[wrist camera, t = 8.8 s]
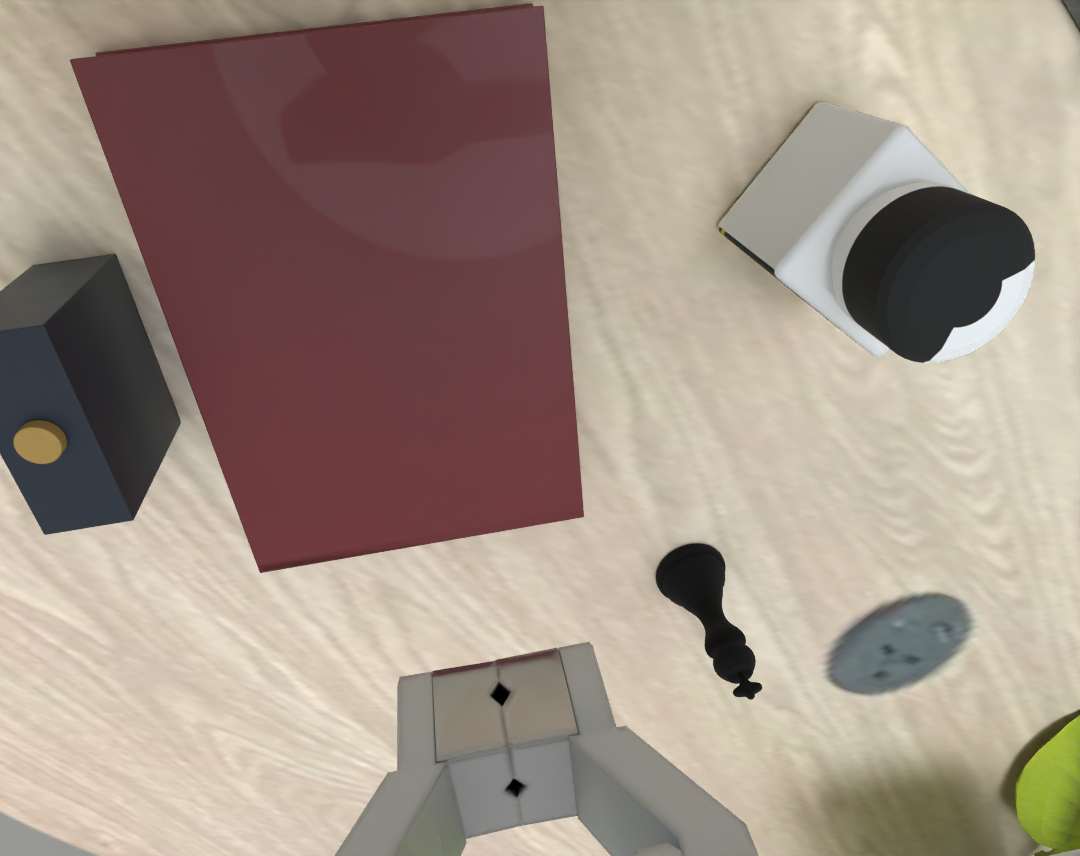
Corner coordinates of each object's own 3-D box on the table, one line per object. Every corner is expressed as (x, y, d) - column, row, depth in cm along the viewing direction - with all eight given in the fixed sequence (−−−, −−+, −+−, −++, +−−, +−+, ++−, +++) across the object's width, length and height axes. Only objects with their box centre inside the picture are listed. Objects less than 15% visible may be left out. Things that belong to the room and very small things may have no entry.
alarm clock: (73, 250, 35) (-133, 326, 28) (189, 260, 32) (-13, 349, 25) (141, 414, 39) (-23, 512, 33) (249, 438, 36) (90, 551, 30)
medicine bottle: (712, 226, 37) (832, 321, 27) (817, 96, 35) (992, 147, 25) (808, 303, 40) (948, 416, 30) (910, 189, 38) (1101, 268, 28)
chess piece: (725, 587, 50) (793, 714, 41) (659, 604, 49) (713, 735, 41) (721, 535, 47) (792, 659, 39) (651, 553, 47) (708, 681, 39)
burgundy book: (97, 52, 30) (68, 59, 27) (531, 3, 31) (543, 5, 29) (268, 537, 42) (259, 573, 40) (573, 485, 44) (583, 517, 41)
